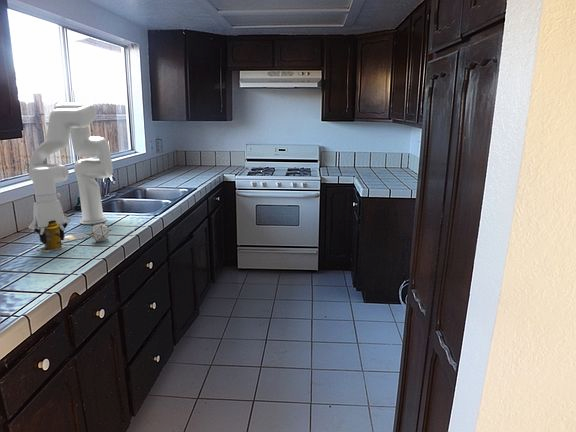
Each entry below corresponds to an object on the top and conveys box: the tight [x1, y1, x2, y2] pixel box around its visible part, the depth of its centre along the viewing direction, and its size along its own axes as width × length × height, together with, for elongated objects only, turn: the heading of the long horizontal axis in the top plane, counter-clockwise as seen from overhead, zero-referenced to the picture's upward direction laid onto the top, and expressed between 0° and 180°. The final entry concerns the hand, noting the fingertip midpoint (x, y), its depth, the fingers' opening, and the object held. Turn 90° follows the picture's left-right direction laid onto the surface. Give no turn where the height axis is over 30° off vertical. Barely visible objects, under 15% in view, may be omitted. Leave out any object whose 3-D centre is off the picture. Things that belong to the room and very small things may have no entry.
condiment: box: [36, 220, 67, 253], centre depth 171 cm, size 7×8×12 cm
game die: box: [88, 221, 112, 244], centre depth 181 cm, size 9×8×10 cm
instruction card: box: [61, 231, 92, 244], centre depth 186 cm, size 10×14×1 cm
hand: (52, 241), depth 173 cm, fingers closed on condiment, 6 cm apart
